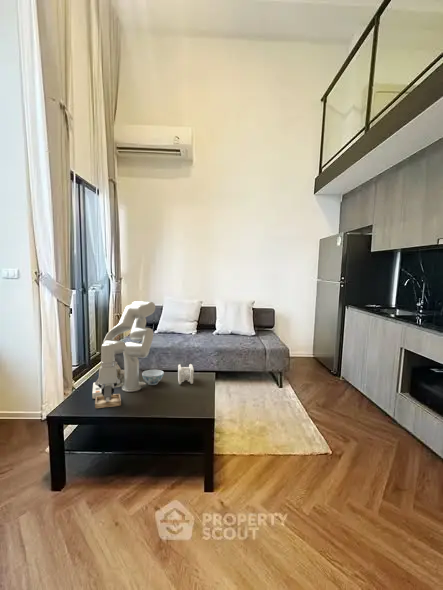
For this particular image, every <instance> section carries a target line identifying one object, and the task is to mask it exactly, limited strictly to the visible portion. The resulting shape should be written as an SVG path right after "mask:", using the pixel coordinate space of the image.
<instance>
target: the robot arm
mask: <svg viewBox="0 0 443 590" xmlns="http://www.w3.org/2000/svg"><path fill="white" fill-rule="evenodd" d="M155 311H156V304H155V303H154V302H152V301H145V300H134V301H132V302H131V304H129V305H126V306H125V308H124V310H123V312H122V315H121V316H120V319H119V321H118V323H117V325H115V326H113V327H112V328H111V329H110V330H109V331H108V332H107V333H106V334H105V337H104V339H103V341H102V344H101V347H100V349H101V350H100V353H101V355H100V359H101V360H100V365H101V366H100V365H99V370H98V378H97V380H96V381H95V382H96V383H95V385H97V386H99V387H100V388H101V389H102V394H103V396H104V387H105V384H112V387H111V395H113V394H115V388H116V387H115V386H116V385H117V384H119V383H120V380H119V379H118V377H117V369H116V365H115V364H117V365H118V361H116V360H115V357H116V355H119V354H123V360H124V361H123V370H124V386H122V387H121V391H123V392H132V393H133V392H138V391H140V390H141V389H142V386H146V385H147V382H146V381H140V361H139V358H144V359H145V358H146V357H148V356H149V354H150V350H151V347H152V343H153V339H154V331H153V329H152V328H151V327H146V326H147V318H148V317H149V316H151V315H153V314H154V313H155ZM128 331H130V332H129V339H130V340H131V341H127V342H124V341H121V340H114V339H115V338H116V337H117V336H118V335H119V336H120V335H121V334H124V333H126V332H128ZM98 382H99V383H98ZM114 383H115V384H114ZM101 384H102V385H101ZM114 387H115V388H114Z"/></svg>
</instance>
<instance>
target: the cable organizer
mask: <svg viewBox="0 0 443 590" xmlns="http://www.w3.org/2000/svg"><path fill="white" fill-rule="evenodd" d="M181 365H182V364H178V366H177V368H178V369H177V380H178V385H181V384H182V383H185V381H187V382H189V383H190V385H192V384H194V372H195V370H194V366H193V364H192V363H190V364H189V365H188V366H181Z"/></svg>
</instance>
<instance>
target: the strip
mask: <svg viewBox="0 0 443 590" xmlns="http://www.w3.org/2000/svg"><path fill="white" fill-rule="evenodd" d="M95 383H96V381H95V382H93V384H92V395H91V396H92V399H93V400H94V399H95V400H96V396H103V394H102V389H101V388H100V387H99V386H97V385H95ZM98 383H99V382H98ZM101 385H102V384H101Z"/></svg>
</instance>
